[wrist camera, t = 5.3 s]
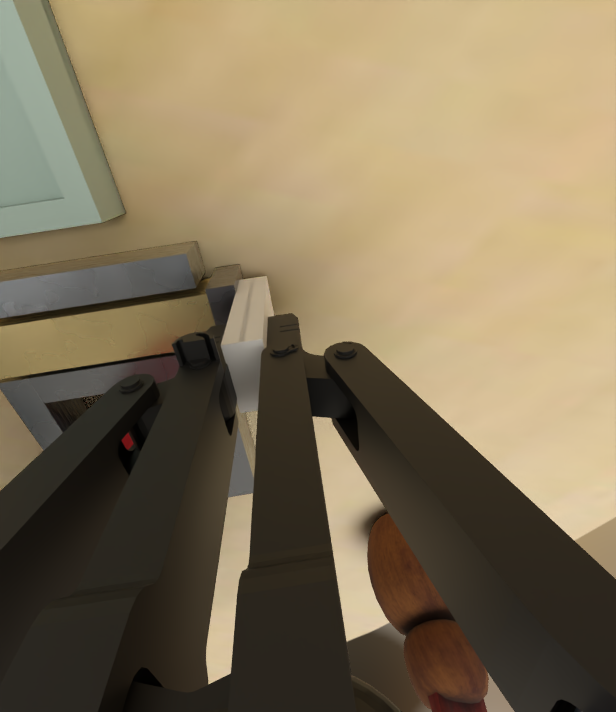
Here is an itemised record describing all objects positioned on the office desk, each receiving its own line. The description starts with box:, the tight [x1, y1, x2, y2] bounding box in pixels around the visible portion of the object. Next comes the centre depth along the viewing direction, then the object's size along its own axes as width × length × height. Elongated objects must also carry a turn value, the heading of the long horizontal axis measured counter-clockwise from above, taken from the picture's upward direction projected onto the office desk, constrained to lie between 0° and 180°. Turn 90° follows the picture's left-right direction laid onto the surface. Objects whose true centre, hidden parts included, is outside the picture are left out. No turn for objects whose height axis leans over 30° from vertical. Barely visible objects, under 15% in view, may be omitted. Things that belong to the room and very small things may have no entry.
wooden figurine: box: [367, 513, 489, 712], centre depth 23 cm, size 7×6×15 cm
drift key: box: [0, 264, 243, 379], centre depth 17 cm, size 13×3×3 cm, turn 97°
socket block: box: [0, 241, 256, 497], centre depth 19 cm, size 10×15×2 cm
